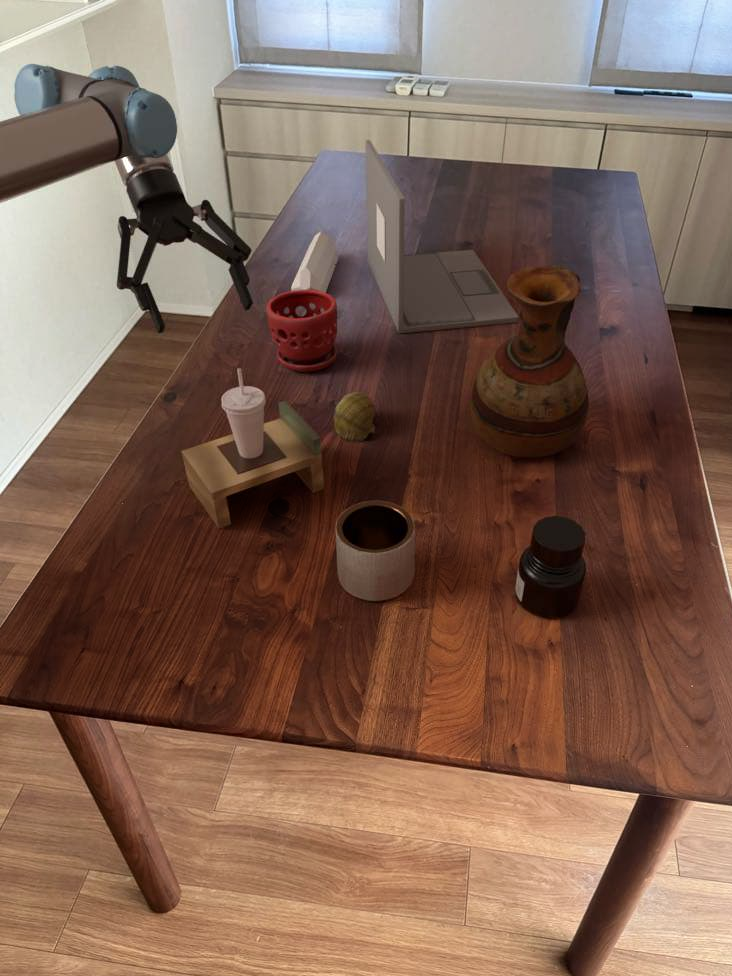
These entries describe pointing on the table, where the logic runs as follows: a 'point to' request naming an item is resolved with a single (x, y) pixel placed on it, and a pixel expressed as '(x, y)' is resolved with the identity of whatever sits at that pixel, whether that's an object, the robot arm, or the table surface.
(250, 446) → the smoothie
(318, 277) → the white triangular prism
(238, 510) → the table surface
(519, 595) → the ink bottle
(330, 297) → the flower pot
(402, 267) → the laptop
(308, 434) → the small wooden bench
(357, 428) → the seashell
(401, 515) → the planter
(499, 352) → the clay vase
